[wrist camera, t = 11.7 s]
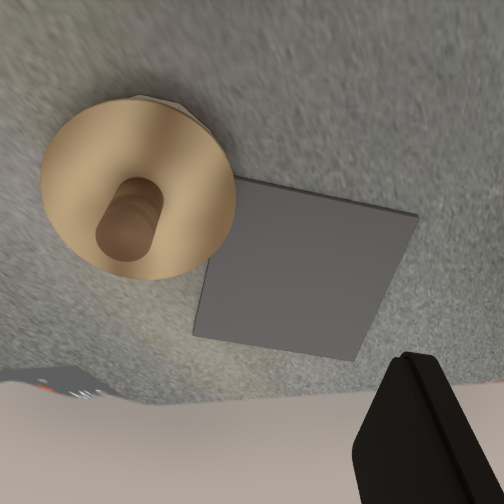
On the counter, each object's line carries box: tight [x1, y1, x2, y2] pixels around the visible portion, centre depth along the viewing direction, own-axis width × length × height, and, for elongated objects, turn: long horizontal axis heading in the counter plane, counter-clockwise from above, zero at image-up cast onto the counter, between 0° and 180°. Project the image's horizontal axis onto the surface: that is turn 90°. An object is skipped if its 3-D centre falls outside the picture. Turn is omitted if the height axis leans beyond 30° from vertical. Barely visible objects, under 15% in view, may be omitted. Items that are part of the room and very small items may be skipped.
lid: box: [40, 98, 236, 280], centre depth 30 cm, size 13×13×6 cm
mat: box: [193, 176, 420, 362], centre depth 42 cm, size 16×16×1 cm
